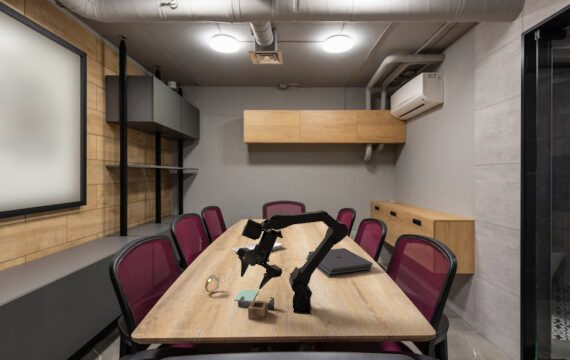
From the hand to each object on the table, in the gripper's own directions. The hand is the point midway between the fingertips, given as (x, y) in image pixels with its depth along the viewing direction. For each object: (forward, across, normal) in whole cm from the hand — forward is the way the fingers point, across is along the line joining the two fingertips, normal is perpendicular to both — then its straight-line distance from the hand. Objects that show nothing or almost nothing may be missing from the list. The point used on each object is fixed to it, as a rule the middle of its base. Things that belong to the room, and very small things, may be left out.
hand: (250, 282), depth 102 cm
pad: (+11, -7, +14) cm, 19 cm away
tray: (+9, -41, +69) cm, 81 cm away
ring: (+18, -21, +9) cm, 29 cm away
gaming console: (-8, +12, +67) cm, 69 cm away
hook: (+10, +2, +9) cm, 13 cm away
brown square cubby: (+10, +7, +3) cm, 12 cm away
